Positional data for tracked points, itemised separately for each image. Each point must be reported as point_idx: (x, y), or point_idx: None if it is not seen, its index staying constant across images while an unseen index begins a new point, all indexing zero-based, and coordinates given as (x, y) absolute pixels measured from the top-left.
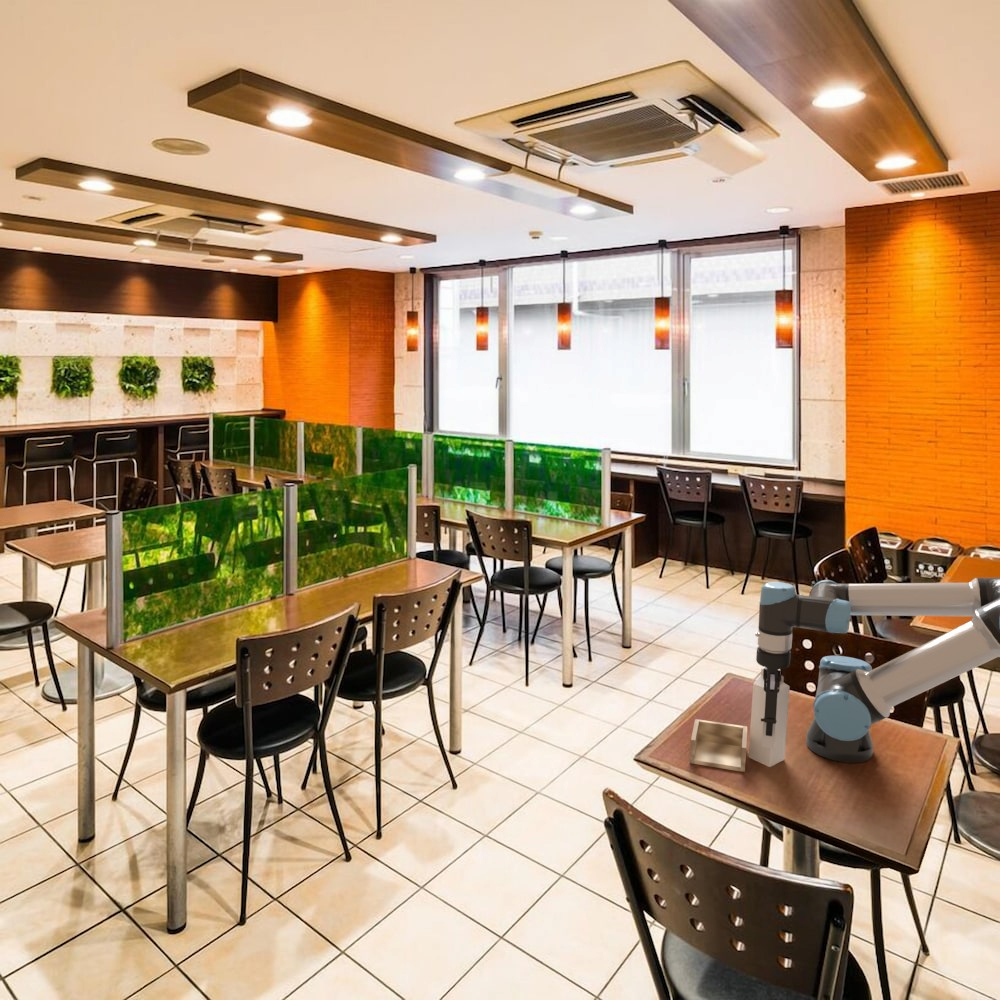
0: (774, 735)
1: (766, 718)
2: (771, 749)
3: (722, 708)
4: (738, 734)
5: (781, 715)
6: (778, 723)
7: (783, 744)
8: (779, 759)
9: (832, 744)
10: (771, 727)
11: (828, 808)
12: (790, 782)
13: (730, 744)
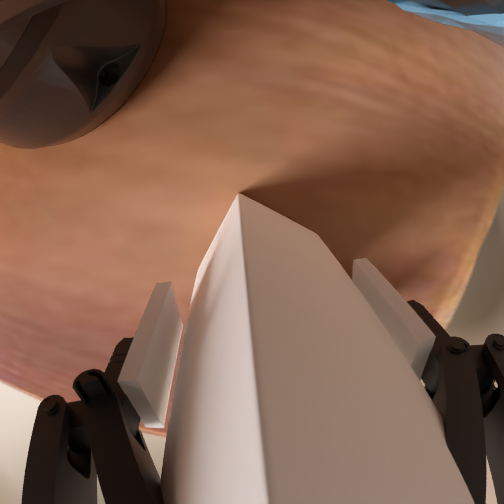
0: (396, 291)
1: (493, 387)
2: (336, 261)
3: (36, 373)
4: None
5: (336, 334)
6: (344, 310)
7: (256, 217)
8: (270, 210)
9: (136, 19)
10: (442, 333)
11: (468, 78)
12: (389, 164)
13: None
